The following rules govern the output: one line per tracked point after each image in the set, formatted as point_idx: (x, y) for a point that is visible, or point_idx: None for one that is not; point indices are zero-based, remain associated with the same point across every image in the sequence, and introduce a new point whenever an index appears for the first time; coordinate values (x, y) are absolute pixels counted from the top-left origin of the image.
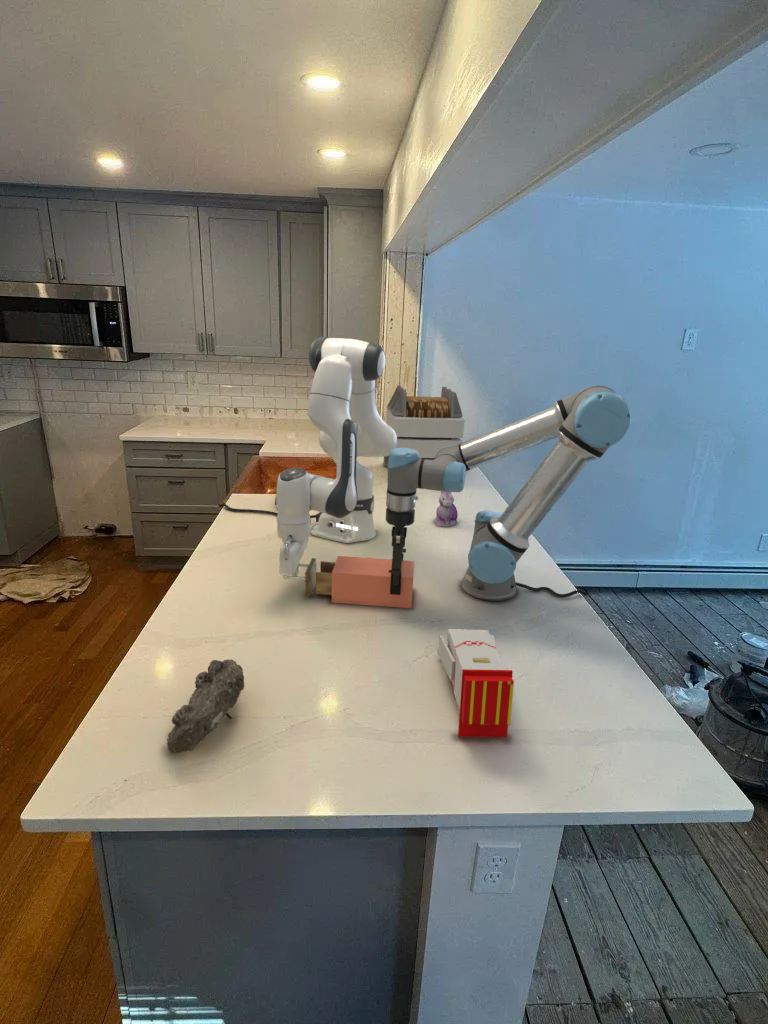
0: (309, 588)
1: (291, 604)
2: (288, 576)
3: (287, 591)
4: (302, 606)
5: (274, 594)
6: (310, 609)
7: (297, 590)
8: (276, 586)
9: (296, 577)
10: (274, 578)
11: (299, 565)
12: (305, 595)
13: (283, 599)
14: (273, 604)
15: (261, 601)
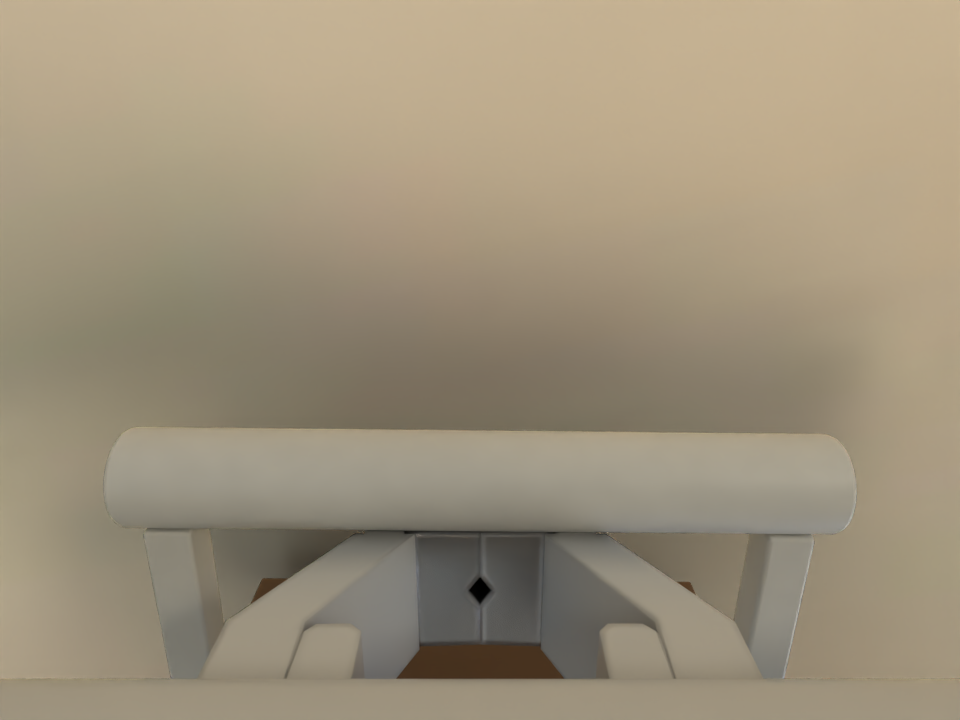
0: None
1: (118, 431)
2: (151, 542)
3: (431, 316)
4: (115, 548)
5: (312, 160)
6: (82, 628)
7: (478, 429)
8: (558, 128)
9: (171, 673)
10: (829, 25)
11: (741, 618)
12: (259, 586)
13: (208, 314)
14: (39, 217)
15: (58, 17)
